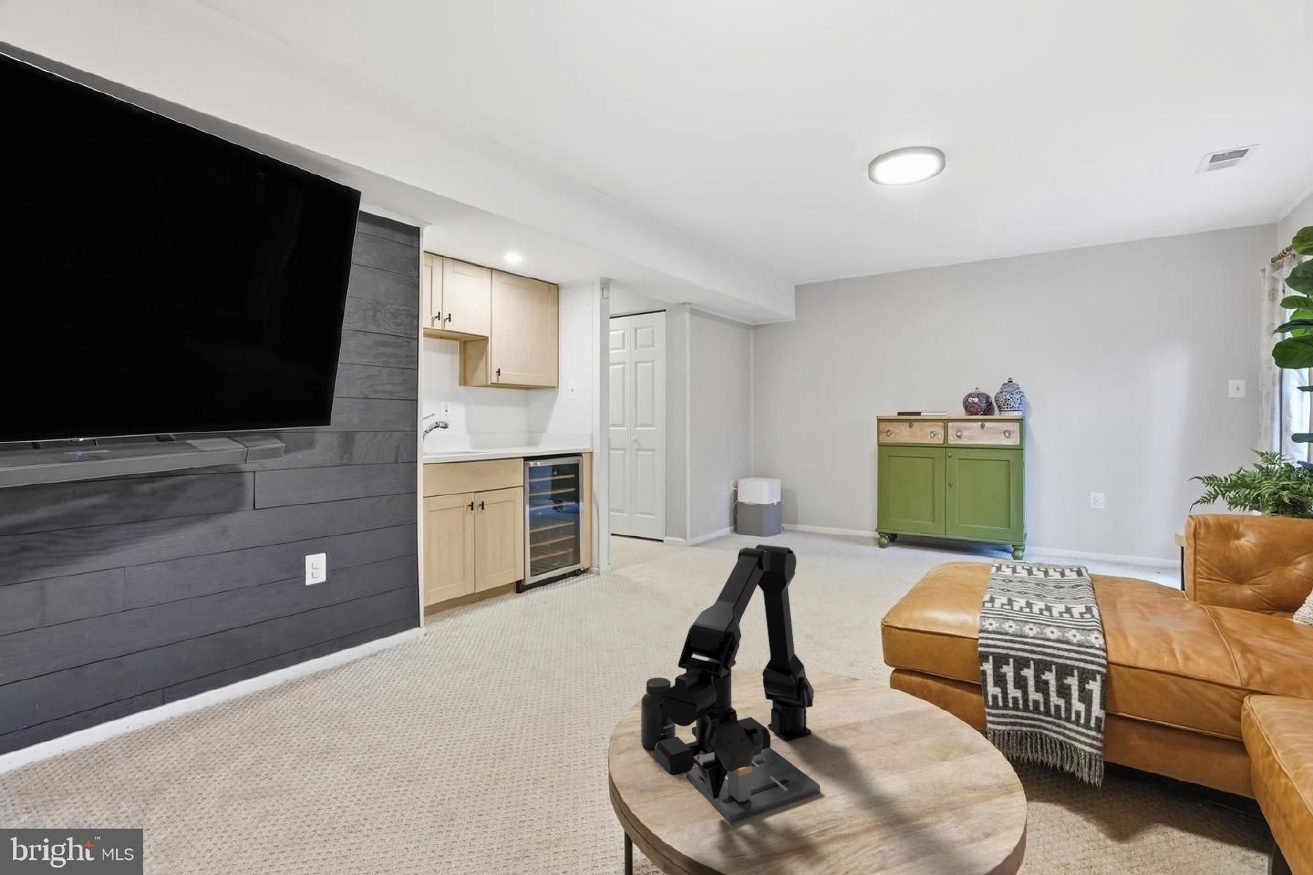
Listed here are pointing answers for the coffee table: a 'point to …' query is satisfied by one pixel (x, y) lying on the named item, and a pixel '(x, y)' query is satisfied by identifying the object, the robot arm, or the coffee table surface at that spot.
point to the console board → (761, 787)
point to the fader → (740, 783)
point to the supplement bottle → (655, 714)
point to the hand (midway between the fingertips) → (714, 797)
